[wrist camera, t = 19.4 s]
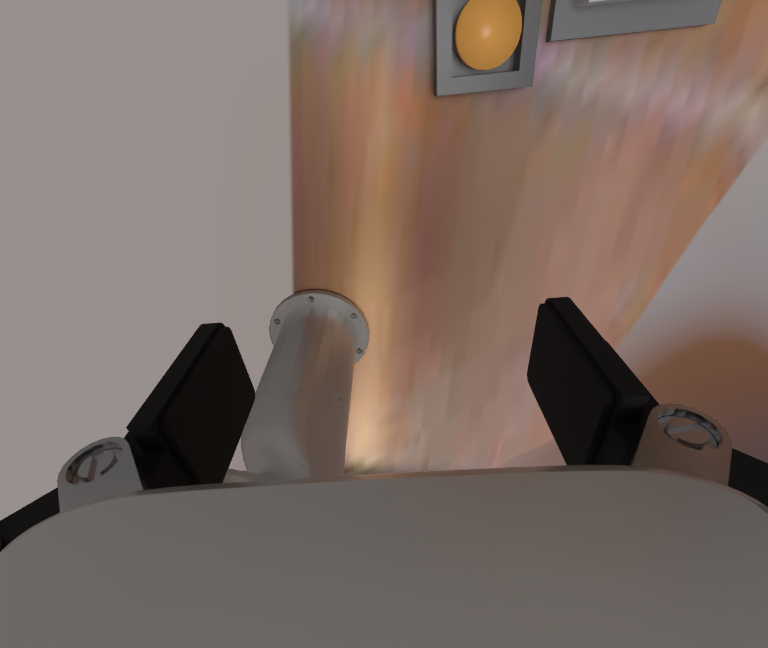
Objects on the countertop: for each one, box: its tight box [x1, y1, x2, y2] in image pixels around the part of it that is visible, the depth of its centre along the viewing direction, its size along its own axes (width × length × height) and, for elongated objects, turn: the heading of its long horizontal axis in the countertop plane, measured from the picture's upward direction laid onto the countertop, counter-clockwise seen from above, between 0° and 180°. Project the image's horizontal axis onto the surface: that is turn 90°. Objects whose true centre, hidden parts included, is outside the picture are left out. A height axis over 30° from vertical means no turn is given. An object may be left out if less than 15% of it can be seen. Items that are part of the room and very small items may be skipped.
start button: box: [453, 0, 522, 70], centre depth 30 cm, size 5×5×2 cm
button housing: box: [433, 0, 542, 96], centre depth 30 cm, size 8×8×2 cm
